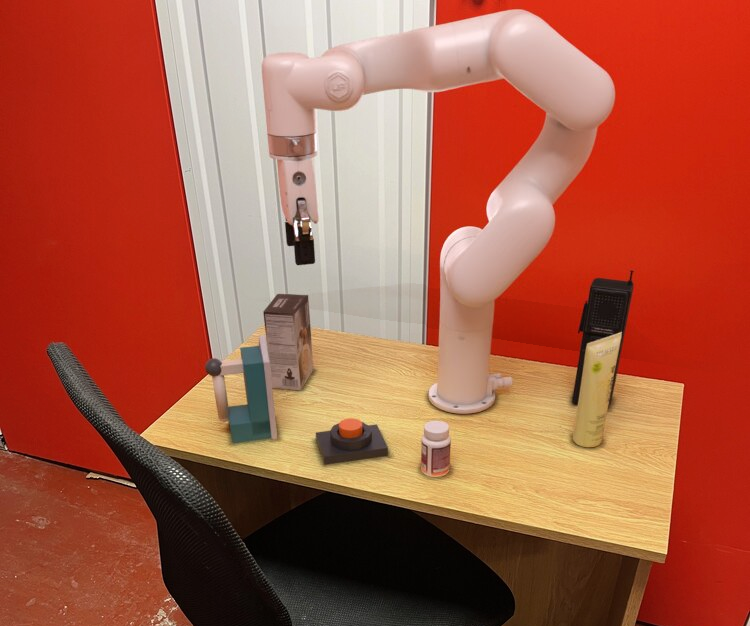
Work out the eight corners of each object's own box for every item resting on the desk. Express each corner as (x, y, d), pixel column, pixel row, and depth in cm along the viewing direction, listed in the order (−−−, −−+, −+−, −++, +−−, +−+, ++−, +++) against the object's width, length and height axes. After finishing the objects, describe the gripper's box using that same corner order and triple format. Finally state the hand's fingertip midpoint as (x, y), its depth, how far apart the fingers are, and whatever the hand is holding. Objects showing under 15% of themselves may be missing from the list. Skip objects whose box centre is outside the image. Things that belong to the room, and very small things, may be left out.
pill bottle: (453, 466, 129) (456, 422, 124) (442, 480, 126) (445, 436, 121) (427, 459, 131) (428, 416, 126) (415, 473, 127) (416, 430, 122)
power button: (359, 425, 134) (359, 416, 133) (364, 437, 131) (364, 428, 130) (337, 428, 133) (336, 419, 132) (341, 440, 130) (341, 431, 129)
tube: (600, 452, 132) (620, 346, 120) (569, 447, 133) (586, 342, 122) (602, 435, 136) (622, 331, 125) (573, 431, 137) (590, 328, 126)
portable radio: (565, 404, 145) (585, 273, 130) (571, 389, 150) (591, 262, 135) (608, 411, 143) (633, 279, 128) (613, 396, 147) (637, 267, 132)
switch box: (376, 432, 138) (376, 415, 136) (387, 456, 132) (387, 438, 130) (316, 440, 136) (314, 423, 134) (324, 465, 130) (323, 447, 128)
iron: (262, 325, 132) (199, 332, 130) (267, 344, 126) (202, 351, 124) (272, 418, 143) (214, 425, 141) (277, 439, 137) (217, 447, 135)
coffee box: (284, 367, 159) (277, 292, 149) (314, 370, 158) (309, 294, 148) (270, 388, 152) (262, 310, 142) (302, 391, 151) (295, 313, 141)
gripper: (326, 155, 114) (332, 269, 124) (307, 132, 128) (313, 236, 138) (276, 159, 113) (285, 274, 123) (262, 135, 126) (271, 240, 137)
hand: (300, 254), depth 130 cm, fingers open, 9 cm apart
